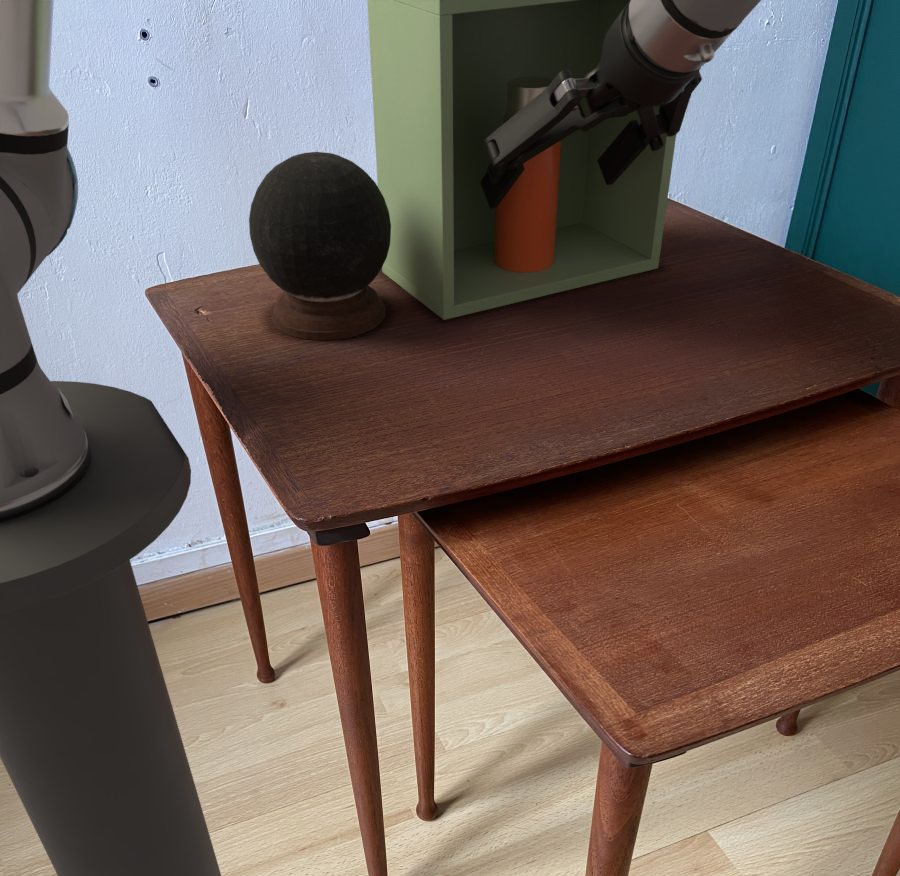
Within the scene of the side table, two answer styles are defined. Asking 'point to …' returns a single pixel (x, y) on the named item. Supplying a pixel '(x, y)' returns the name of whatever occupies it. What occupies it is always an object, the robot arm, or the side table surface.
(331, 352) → the side table surface
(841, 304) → the side table surface
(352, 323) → the black ball on stand
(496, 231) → the spray can
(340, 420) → the side table surface
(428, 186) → the cupboard
